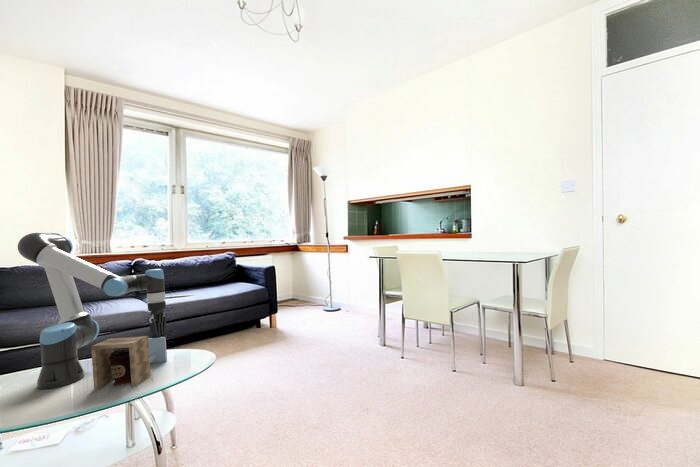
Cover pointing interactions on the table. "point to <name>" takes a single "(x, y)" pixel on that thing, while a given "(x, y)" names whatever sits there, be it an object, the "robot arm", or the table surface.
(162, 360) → the plunger
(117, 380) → the coffee cup
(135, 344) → the tunnel
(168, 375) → the table surface
